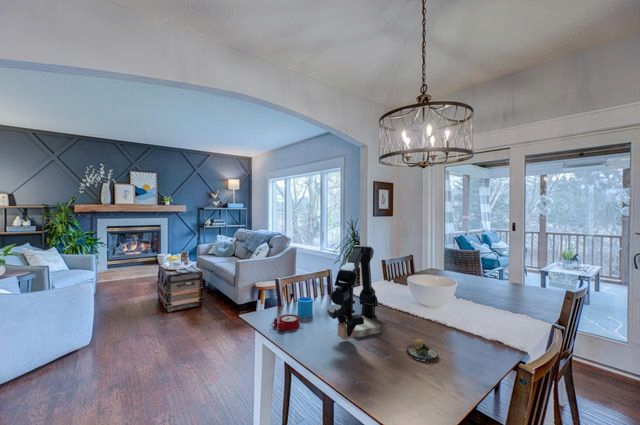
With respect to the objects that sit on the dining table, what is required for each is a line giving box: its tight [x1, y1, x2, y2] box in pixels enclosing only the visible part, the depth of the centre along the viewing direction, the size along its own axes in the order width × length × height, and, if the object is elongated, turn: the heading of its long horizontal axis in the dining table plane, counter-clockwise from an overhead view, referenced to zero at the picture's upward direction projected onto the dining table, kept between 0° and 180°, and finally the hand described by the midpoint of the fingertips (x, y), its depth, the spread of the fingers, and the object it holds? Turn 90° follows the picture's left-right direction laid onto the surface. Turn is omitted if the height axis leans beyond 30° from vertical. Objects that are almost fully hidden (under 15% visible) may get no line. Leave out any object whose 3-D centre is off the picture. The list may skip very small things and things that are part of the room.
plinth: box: [346, 315, 382, 339], centre depth 139 cm, size 14×14×3 cm
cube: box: [337, 322, 355, 340], centre depth 126 cm, size 5×5×5 cm
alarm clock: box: [270, 314, 301, 332], centre depth 140 cm, size 10×6×15 cm
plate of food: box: [405, 336, 439, 361], centre depth 116 cm, size 12×12×8 cm
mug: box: [296, 296, 314, 318], centre depth 158 cm, size 12×8×8 cm
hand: (345, 333), depth 126 cm, fingers closed on cube, 5 cm apart
